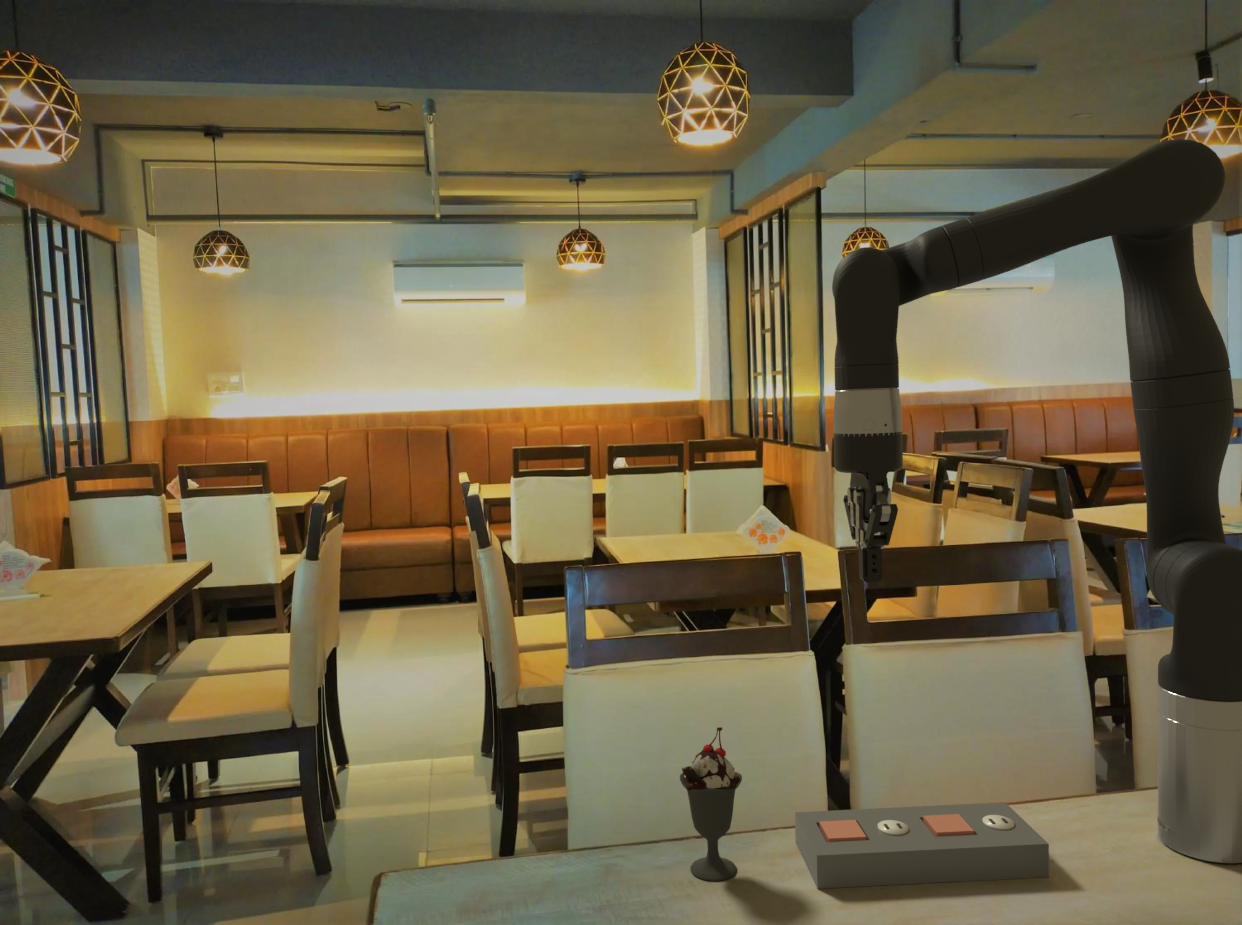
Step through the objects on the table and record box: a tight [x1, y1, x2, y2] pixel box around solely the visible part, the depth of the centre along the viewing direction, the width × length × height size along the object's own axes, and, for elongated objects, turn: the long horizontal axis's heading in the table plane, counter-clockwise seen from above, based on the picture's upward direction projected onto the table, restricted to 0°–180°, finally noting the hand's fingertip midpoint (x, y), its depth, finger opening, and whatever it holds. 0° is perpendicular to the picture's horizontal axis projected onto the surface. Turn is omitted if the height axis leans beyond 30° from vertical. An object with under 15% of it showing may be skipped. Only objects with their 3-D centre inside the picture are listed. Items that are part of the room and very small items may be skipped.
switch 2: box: [923, 814, 974, 837], centre depth 99 cm, size 4×4×2 cm
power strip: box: [794, 801, 1050, 890], centre depth 99 cm, size 24×10×4 cm, turn 92°
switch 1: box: [819, 820, 866, 842], centre depth 99 cm, size 4×4×2 cm
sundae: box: [679, 726, 743, 882], centre depth 98 cm, size 7×7×15 cm
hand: (870, 580), depth 105 cm, fingers closed
